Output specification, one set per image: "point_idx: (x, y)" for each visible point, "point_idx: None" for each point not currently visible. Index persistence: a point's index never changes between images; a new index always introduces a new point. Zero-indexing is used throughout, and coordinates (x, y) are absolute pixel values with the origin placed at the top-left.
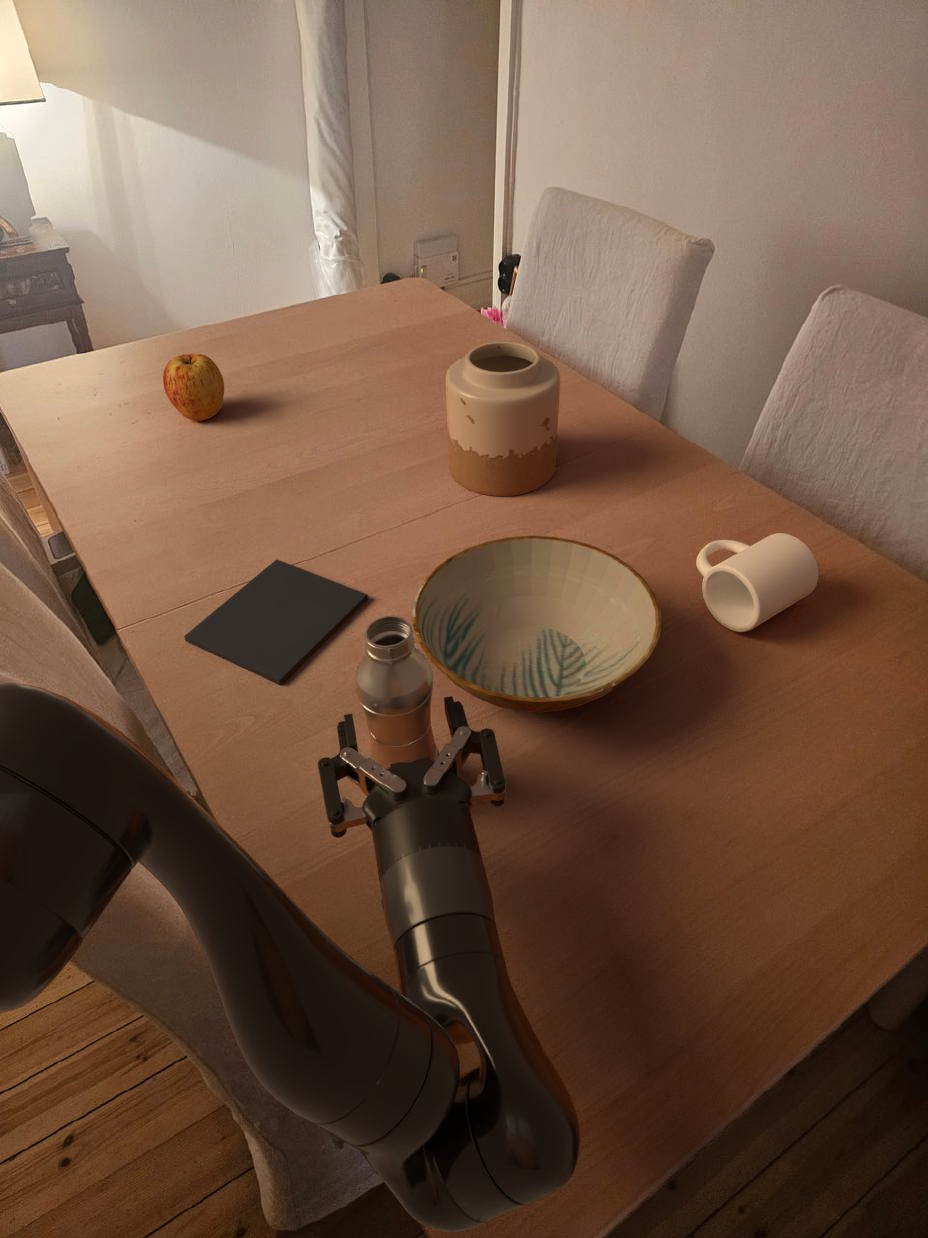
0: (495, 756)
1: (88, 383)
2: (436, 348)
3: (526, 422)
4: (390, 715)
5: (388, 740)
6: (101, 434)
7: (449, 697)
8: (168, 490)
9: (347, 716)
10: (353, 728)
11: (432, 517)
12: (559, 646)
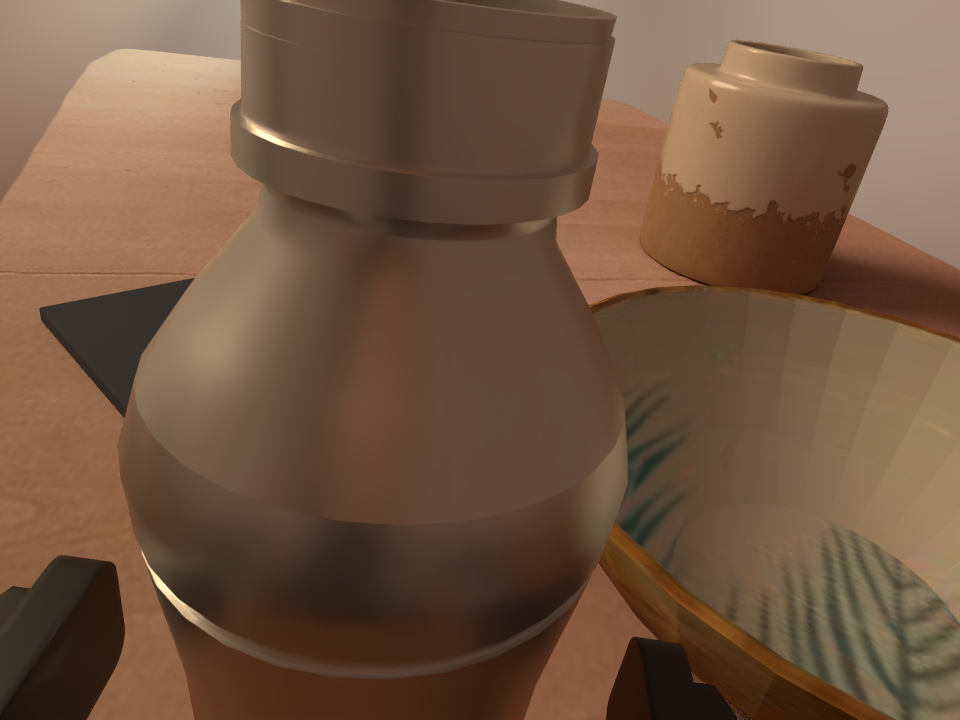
0: None
1: (197, 71)
2: (637, 144)
3: (819, 155)
4: (265, 653)
5: None
6: (169, 101)
7: (668, 646)
8: (205, 158)
9: (65, 569)
10: (35, 656)
11: (599, 284)
12: (884, 581)
